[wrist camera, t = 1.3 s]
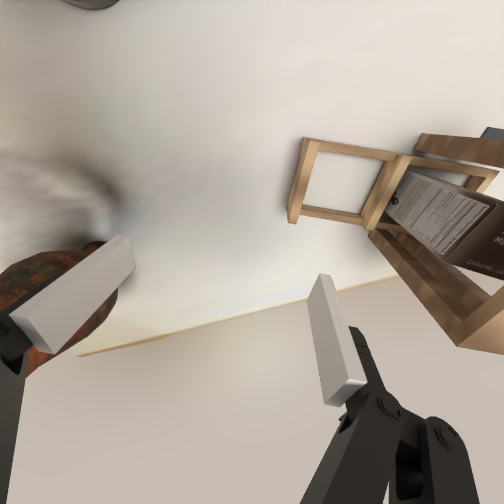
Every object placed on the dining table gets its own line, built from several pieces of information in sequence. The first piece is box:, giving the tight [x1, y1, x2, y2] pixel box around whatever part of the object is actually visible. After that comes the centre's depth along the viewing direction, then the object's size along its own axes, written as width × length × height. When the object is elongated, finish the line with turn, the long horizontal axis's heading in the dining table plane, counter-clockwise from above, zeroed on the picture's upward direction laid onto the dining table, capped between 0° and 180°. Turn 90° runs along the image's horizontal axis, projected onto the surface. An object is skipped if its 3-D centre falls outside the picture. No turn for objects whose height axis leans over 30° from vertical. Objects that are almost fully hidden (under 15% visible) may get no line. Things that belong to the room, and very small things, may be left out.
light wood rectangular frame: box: [286, 137, 500, 234], centre depth 29 cm, size 11×26×6 cm, turn 82°
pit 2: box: [481, 127, 504, 140], centre depth 27 cm, size 4×4×1 cm
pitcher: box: [0, 241, 118, 377], centre depth 34 cm, size 17×21×30 cm
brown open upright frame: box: [368, 133, 504, 355], centre depth 23 cm, size 16×7×21 cm, turn 172°
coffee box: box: [384, 169, 504, 280], centre depth 25 cm, size 9×6×16 cm
